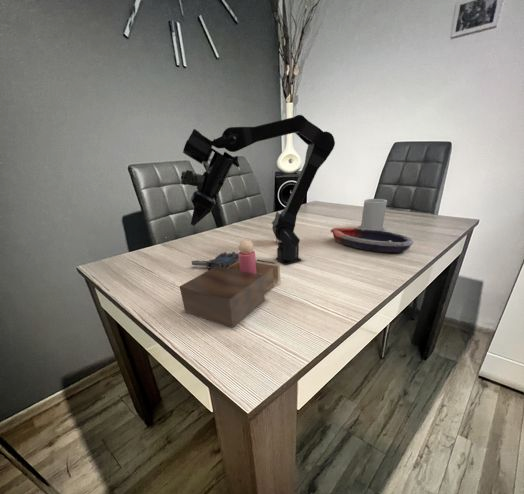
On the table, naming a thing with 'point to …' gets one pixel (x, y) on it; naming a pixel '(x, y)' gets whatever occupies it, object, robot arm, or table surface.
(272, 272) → the drawer
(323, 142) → the robot arm
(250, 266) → the doll
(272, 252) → the table surface
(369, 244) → the dish
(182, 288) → the cabinet
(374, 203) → the cup
